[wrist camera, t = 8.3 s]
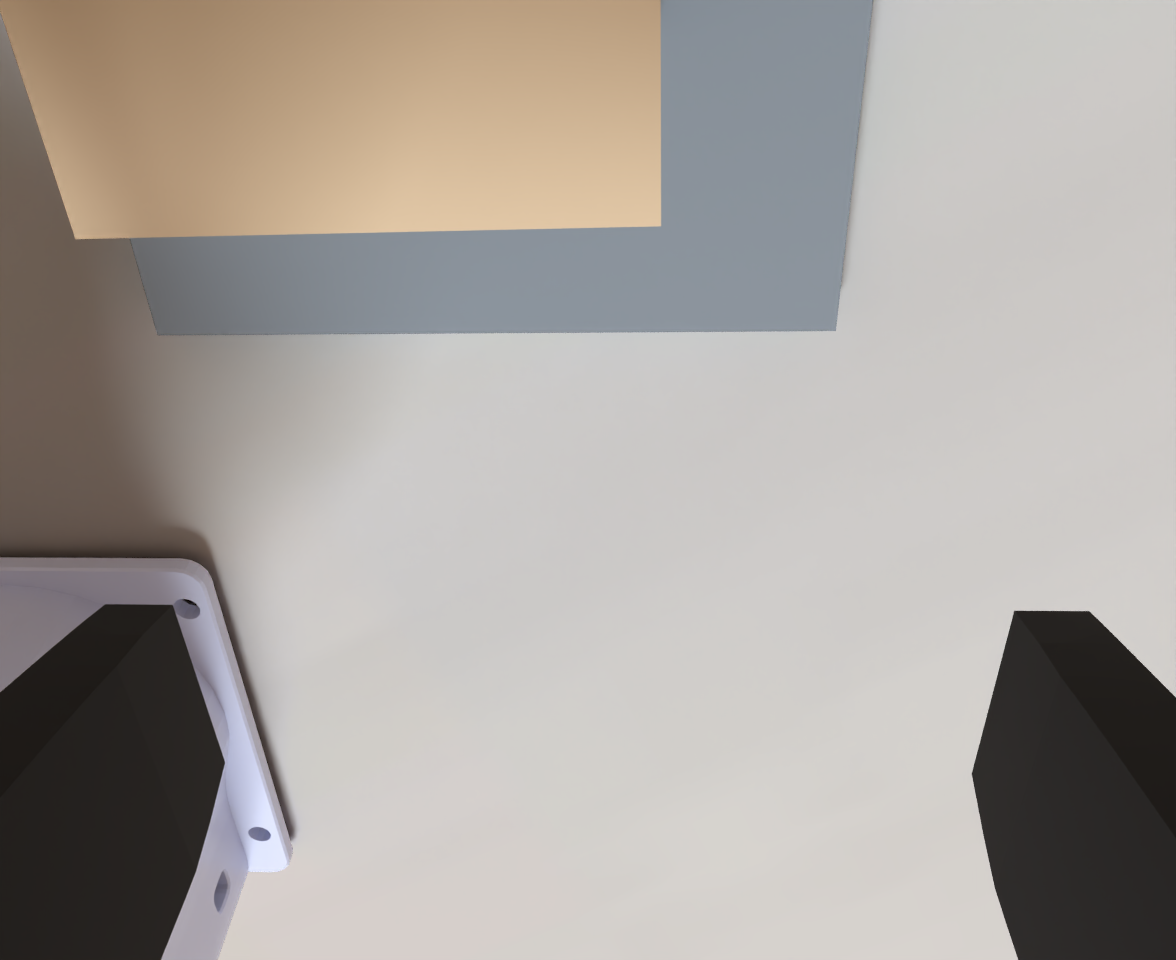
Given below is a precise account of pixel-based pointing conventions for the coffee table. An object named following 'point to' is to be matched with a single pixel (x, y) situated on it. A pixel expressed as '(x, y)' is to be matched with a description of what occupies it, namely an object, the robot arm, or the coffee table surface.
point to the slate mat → (599, 255)
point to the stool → (345, 114)
